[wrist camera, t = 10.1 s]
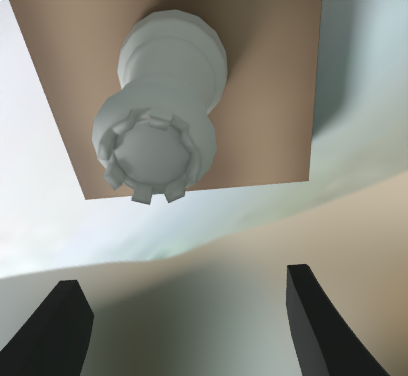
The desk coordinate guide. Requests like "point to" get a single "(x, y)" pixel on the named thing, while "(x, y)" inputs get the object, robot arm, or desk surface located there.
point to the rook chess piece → (162, 107)
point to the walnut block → (220, 115)
